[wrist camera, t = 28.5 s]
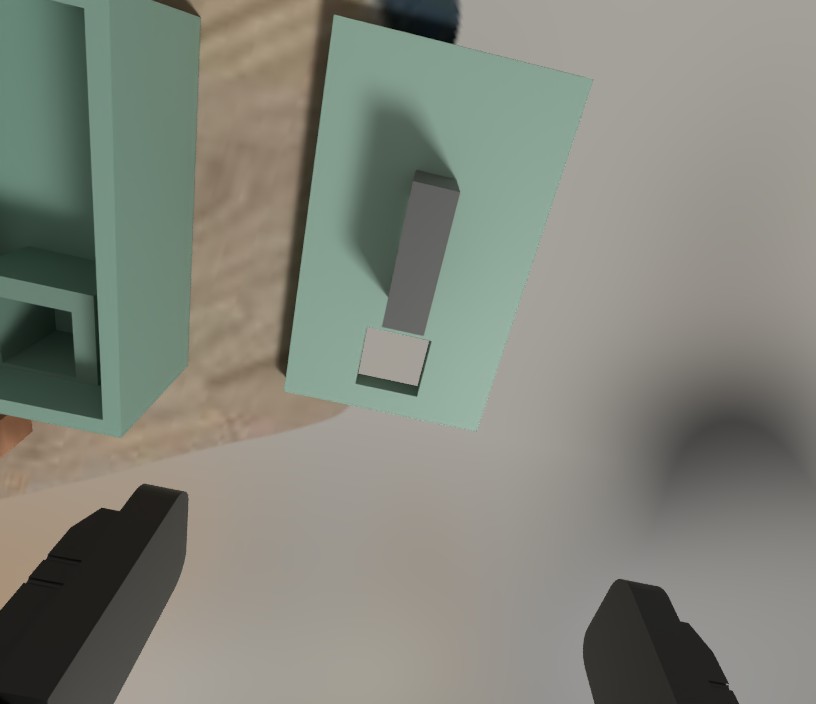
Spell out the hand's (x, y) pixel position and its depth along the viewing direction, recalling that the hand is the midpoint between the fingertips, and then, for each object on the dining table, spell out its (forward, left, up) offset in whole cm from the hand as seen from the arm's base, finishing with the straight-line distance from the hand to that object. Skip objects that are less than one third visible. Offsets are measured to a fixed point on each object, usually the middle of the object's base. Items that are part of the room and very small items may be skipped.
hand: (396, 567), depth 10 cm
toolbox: (+2, -21, -26) cm, 34 cm away
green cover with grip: (+1, 0, -26) cm, 26 cm away
